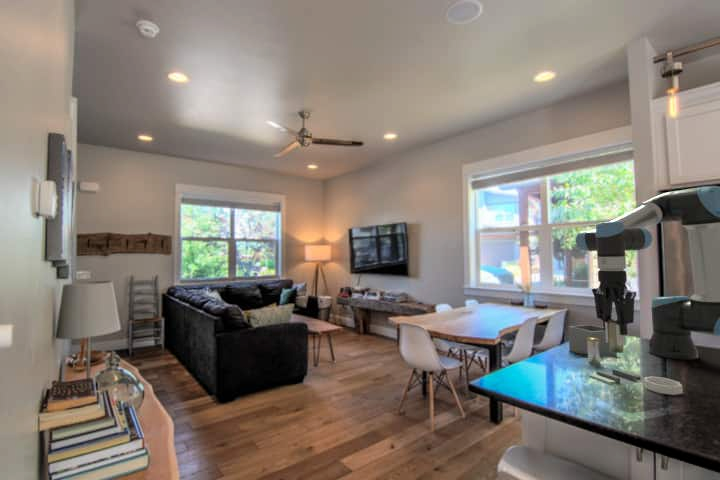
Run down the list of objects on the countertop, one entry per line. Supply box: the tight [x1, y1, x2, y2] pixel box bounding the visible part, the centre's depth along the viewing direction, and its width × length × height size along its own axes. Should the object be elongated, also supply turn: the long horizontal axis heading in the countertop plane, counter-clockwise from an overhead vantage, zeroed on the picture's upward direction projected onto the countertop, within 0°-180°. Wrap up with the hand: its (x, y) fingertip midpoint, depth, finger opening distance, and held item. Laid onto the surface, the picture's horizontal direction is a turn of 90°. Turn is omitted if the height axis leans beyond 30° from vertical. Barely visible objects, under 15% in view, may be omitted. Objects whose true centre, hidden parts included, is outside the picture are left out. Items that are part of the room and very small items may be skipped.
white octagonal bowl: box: [643, 375, 684, 396], centre depth 105 cm, size 8×8×4 cm
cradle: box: [585, 368, 644, 387], centre depth 115 cm, size 14×10×3 cm
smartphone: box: [574, 351, 588, 357], centre depth 149 cm, size 8×15×1 cm, turn 129°
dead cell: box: [608, 318, 624, 354], centre depth 116 cm, size 4×4×10 cm
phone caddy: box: [568, 324, 618, 357], centre depth 149 cm, size 12×12×10 cm
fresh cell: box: [587, 337, 601, 365], centre depth 132 cm, size 4×4×10 cm
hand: (615, 343), depth 115 cm, fingers closed on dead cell, 3 cm apart
